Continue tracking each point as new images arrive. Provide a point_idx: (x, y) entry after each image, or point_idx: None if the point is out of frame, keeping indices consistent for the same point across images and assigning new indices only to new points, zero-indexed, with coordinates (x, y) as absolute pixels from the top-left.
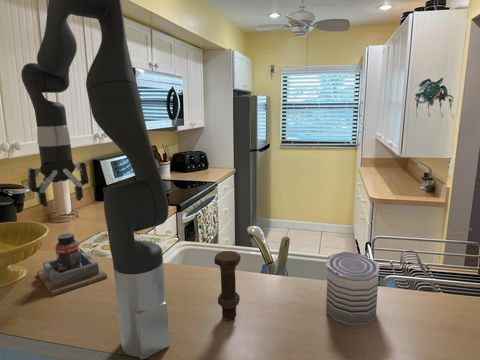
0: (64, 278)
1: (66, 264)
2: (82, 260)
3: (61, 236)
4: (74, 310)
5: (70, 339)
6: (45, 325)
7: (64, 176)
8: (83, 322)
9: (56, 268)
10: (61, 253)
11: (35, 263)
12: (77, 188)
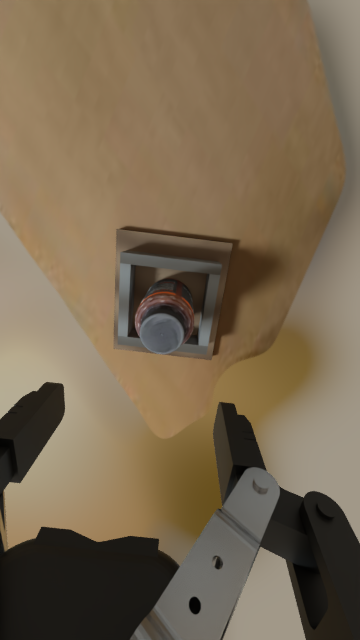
0: (199, 260)
1: (182, 289)
2: (130, 329)
3: (173, 337)
4: (231, 138)
5: (295, 9)
6: (296, 126)
7: (30, 591)
8: (244, 62)
9: None
10: (188, 303)
11: (193, 405)
12: (13, 436)
